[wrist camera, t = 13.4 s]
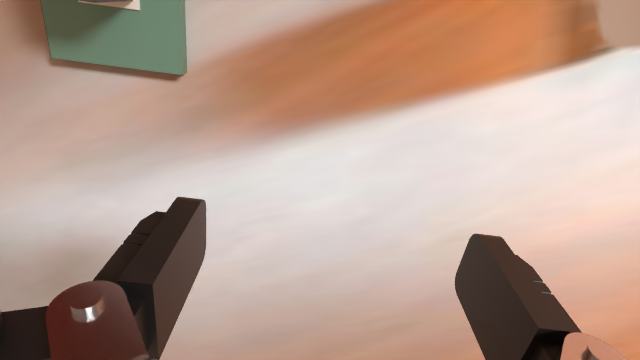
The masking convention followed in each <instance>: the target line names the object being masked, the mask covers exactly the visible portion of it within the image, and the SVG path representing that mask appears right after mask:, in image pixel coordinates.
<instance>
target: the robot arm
mask: <svg viewBox="0 0 640 360" xmlns="http://www.w3.org/2000/svg"><path fill="white" fill-rule="evenodd" d="M205 250H206V203H205V200H201V199H193V198H185V197H177V198H176V199H175V201H174V202H173V203H172V205H171V206H170V208H169V209H168V210H167V212H158V211H156V212H154V213H153V214H151V215H149V216H148V217H146V218H144V219H143V220H141V221H140V222H139V223H138V225H137V226H136V227H135V228H134V230H133V231H132V232H131V235H129V236H128V237H127V238H126V240H125V241H124V243H123V245H121V246H120V247H119V248H118V250H117V251H116V252H115V253H114V255H113V256H112V257H111V258H110V260H109V261H108V262H107V263H106V265H105V266H104V267H103V268H102V270H101V271H100V272H99V273H98V275H97V276H96V277H95V278H94V280H93V281H89V282H85V283H81V284H78V285H75V286H73V287H71V288H69V289H67V290H65V291H63V292H62V293H60V294H59V295H58V296H57V297H55V298H54V299H53V300H52V302H51V303H50V304H49V306H44V307H38V308H31V309H23V310H15V311H8V312H0V360H155V359H156V360H159V359H160V357H161V354H162V352H163V350H164V348H165V346H166V343H167V341H168V339H169V337H170V334H171V332H172V330H173V328H174V325H175V323H176V321H177V319H178V316H179V314H180V312H181V310H182V308H183V305H184V303H185V301H186V299H187V296H188V294H189V292H190V290H191V287H192V285H193V283H194V281H195V279H196V276H197V274H198V272H199V270H200V267H201V265H202V262H203V259H204V255H205ZM455 289H456V293H457V296H458V298H459V300H460V303H461V305H462V307H463V309H464V312H465V314H466V316H467V319H468V321H469V323H470V325H471V328H472V330H473V332H474V334H475V337H476V339H477V341H478V344H479V346H480V348H481V350H482V353H483V355H484V357H485V359H486V360H628V359H627V358H626V357H625V356H624V355H623V354H622V353H621V352H619V351H618V350H617V349H616V348H614V347H613V346H611V345H610V344H608V343H607V342H605V341H603V340H601V339H599V338H597V337H595V336H592V335H589V334H585V333H582V332H581V331H580V329H579V328H578V327H577V325H576V324H575V323H574V322H573V320H572V319H571V318H570V316H569V315H568V314H567V312H566V311H565V310H564V308H563V307H562V306H561V304H560V303H559V302H558V300H557V299H556V298H555V296H554V295H551V291H550V290H549V288H548V287H547V286H546V285H545V283H543V281H542V279H541V278H540V277H539V275H538V274H537V273H536V271H535V270H534V269H533V267H531V266H530V265H529V264H528V263H526V262H525V261H524V260H523V259H521V258H520V257H519V256H518V255H515V254H514V253H513V252H512V250H511V249H510V248H509V246H508V245H507V243H506V242H505V241H504V239H503V238H502V237H499V236H491V235H483V234H473V235H472V236H471V237H470V239H469V242H468V244H467V247H466V249H465V252H464V255H463V257H462V260H461V262H460V265H459V267H458V270H457V273H456V277H455Z"/></svg>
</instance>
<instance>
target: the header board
mask: <svg viewBox="0 0 640 360" xmlns="http://www.w3.org/2000/svg"><path fill="white" fill-rule="evenodd" d="M40 1H41V7H42V12H43V17H44V22H45V28H46V33H47V38H48V43H49V49H50V54H51V58H54V59H62V60H70V61H77V62H85V63H93V64H101V65H108V66H116V67H124V68H131V69H139V70H147V71H155V72H162V73H170V74H178V75H183V74H184V73H186V72H187V57H186V27H185V0H133V1H121V2H102V3H92V2H85V1H78V0H40Z"/></svg>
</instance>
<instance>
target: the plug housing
mask: <svg viewBox="0 0 640 360" xmlns="http://www.w3.org/2000/svg"><path fill="white" fill-rule="evenodd" d="M78 1H85V2H92V3H102V2H121V1H133V0H78Z"/></svg>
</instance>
